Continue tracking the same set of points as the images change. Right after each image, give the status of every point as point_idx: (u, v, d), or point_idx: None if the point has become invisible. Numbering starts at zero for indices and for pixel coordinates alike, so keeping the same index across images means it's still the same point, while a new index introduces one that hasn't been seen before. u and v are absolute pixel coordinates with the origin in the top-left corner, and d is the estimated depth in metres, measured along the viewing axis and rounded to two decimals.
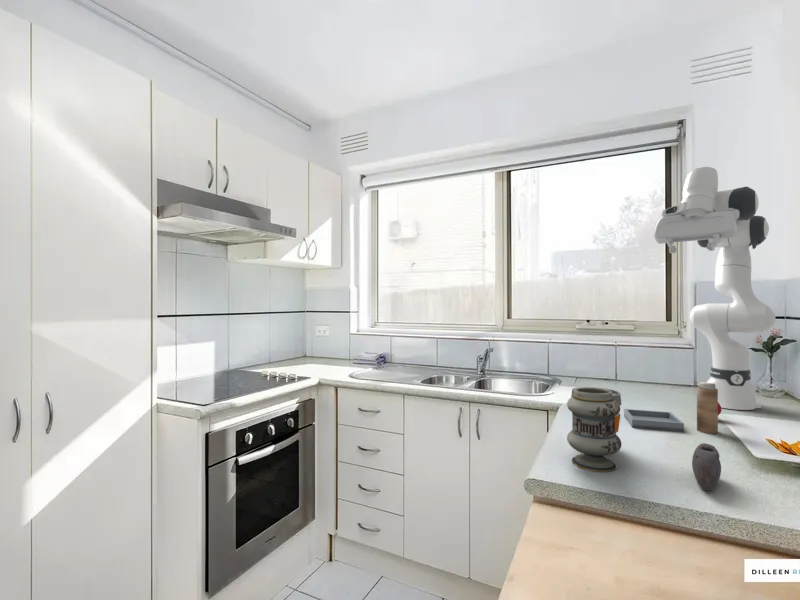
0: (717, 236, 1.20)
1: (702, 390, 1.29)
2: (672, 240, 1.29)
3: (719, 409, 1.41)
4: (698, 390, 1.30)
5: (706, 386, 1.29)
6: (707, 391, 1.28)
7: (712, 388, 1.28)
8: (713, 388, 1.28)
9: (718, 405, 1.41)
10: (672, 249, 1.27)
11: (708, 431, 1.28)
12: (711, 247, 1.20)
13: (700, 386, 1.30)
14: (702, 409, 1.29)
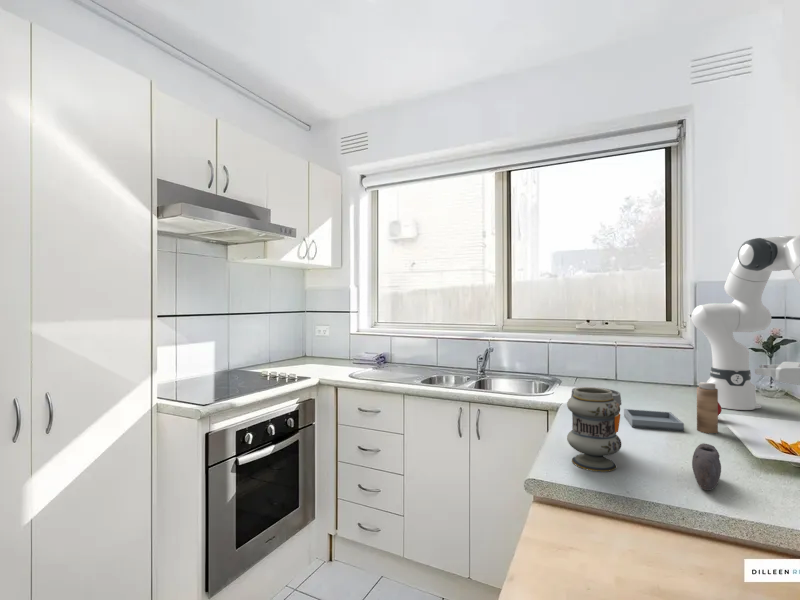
0: None
1: (702, 390, 1.29)
2: None
3: (719, 409, 1.41)
4: (698, 390, 1.30)
5: (706, 386, 1.29)
6: (707, 391, 1.28)
7: (712, 388, 1.28)
8: (713, 388, 1.28)
9: (718, 405, 1.41)
10: None
11: (708, 431, 1.28)
12: None
13: (700, 386, 1.30)
14: (702, 409, 1.29)
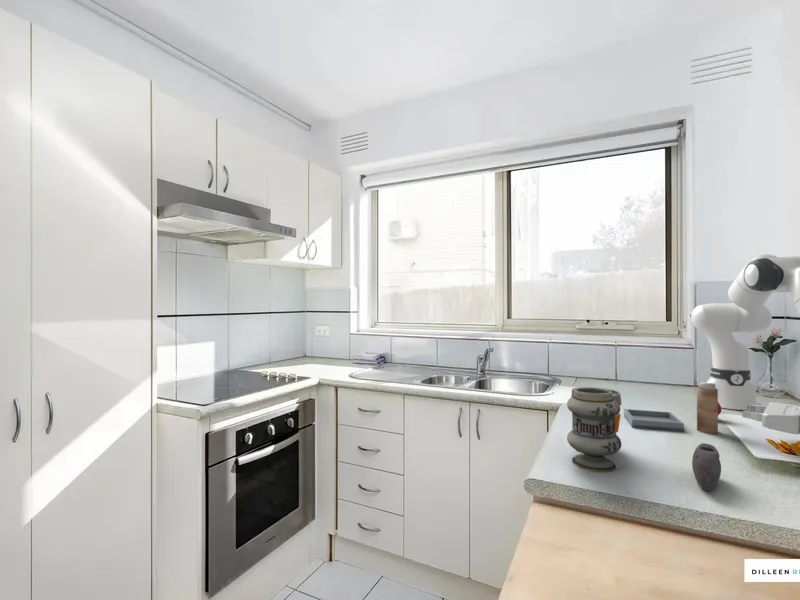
0: None
1: (702, 390, 1.29)
2: None
3: (719, 409, 1.41)
4: (698, 390, 1.30)
5: (706, 386, 1.29)
6: (707, 391, 1.28)
7: (712, 388, 1.28)
8: (713, 388, 1.28)
9: (718, 405, 1.41)
10: None
11: (708, 431, 1.28)
12: None
13: (700, 386, 1.30)
14: (702, 409, 1.29)
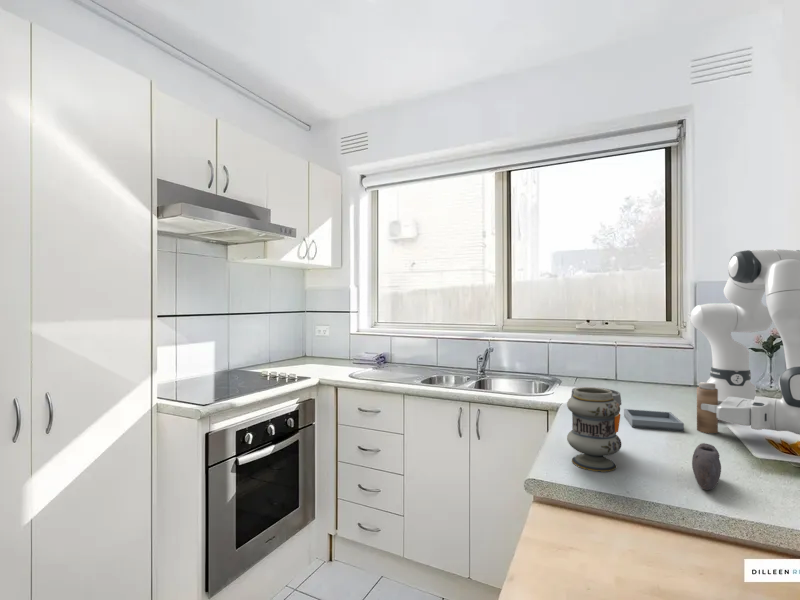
0: None
1: (702, 390, 1.29)
2: None
3: None
4: (698, 390, 1.30)
5: (706, 386, 1.29)
6: (707, 391, 1.28)
7: (712, 388, 1.28)
8: (713, 388, 1.28)
9: None
10: None
11: (708, 431, 1.28)
12: None
13: (700, 386, 1.30)
14: None
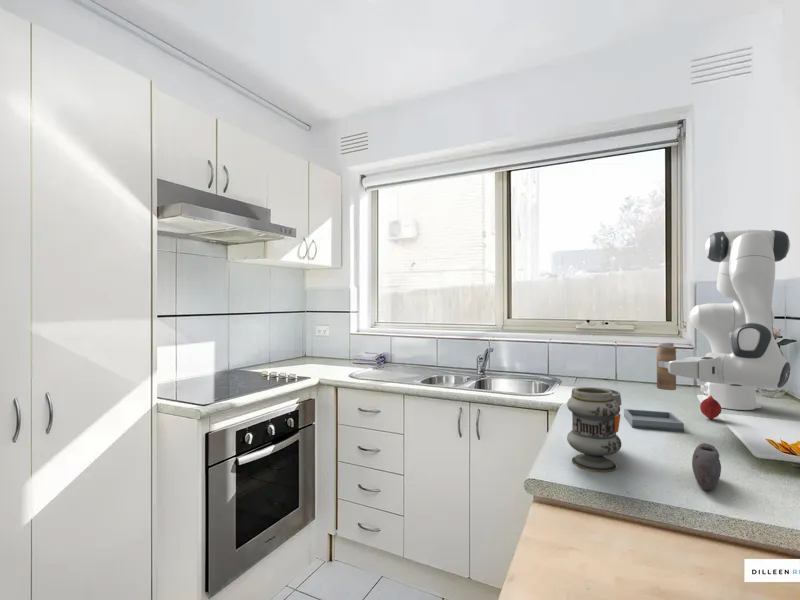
0: None
1: (660, 349, 1.35)
2: None
3: (719, 409, 1.41)
4: (657, 349, 1.36)
5: (664, 345, 1.34)
6: (664, 349, 1.34)
7: (670, 346, 1.34)
8: (671, 346, 1.34)
9: (718, 405, 1.41)
10: (660, 366, 1.34)
11: (665, 387, 1.33)
12: None
13: (659, 345, 1.36)
14: None
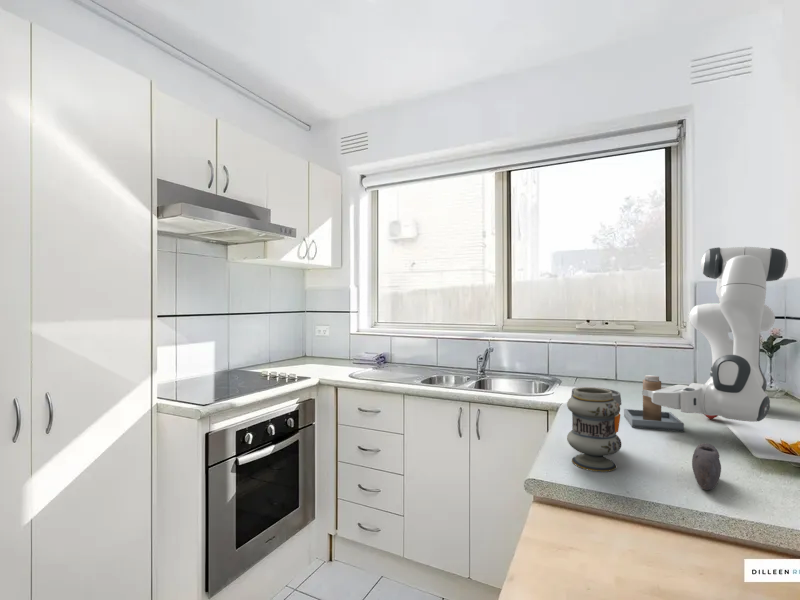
0: None
1: (646, 382, 1.37)
2: None
3: None
4: (643, 382, 1.39)
5: (649, 378, 1.37)
6: (650, 383, 1.36)
7: (655, 380, 1.36)
8: (656, 380, 1.36)
9: None
10: None
11: None
12: None
13: (645, 378, 1.39)
14: (646, 400, 1.37)
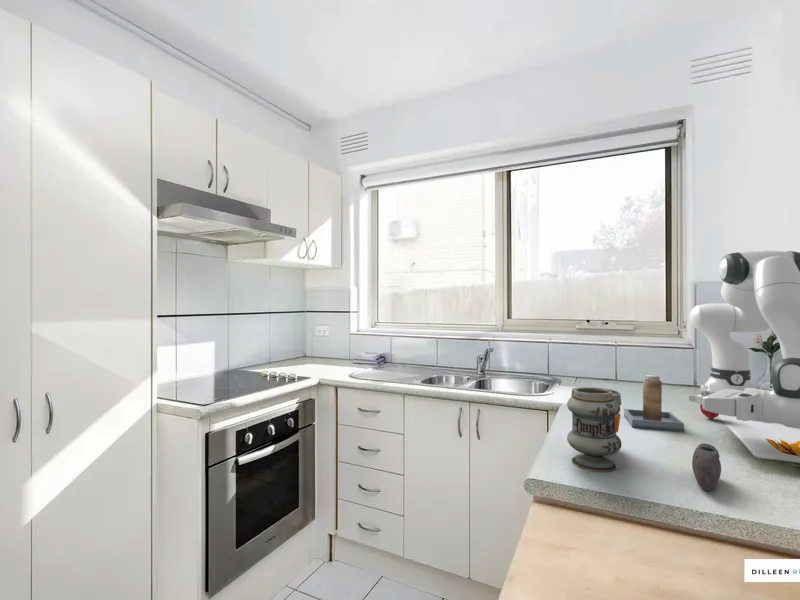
0: None
1: (646, 382, 1.37)
2: None
3: None
4: (643, 382, 1.39)
5: (649, 378, 1.37)
6: (650, 383, 1.36)
7: (655, 380, 1.36)
8: (656, 380, 1.36)
9: None
10: None
11: None
12: None
13: (645, 378, 1.39)
14: (646, 399, 1.37)
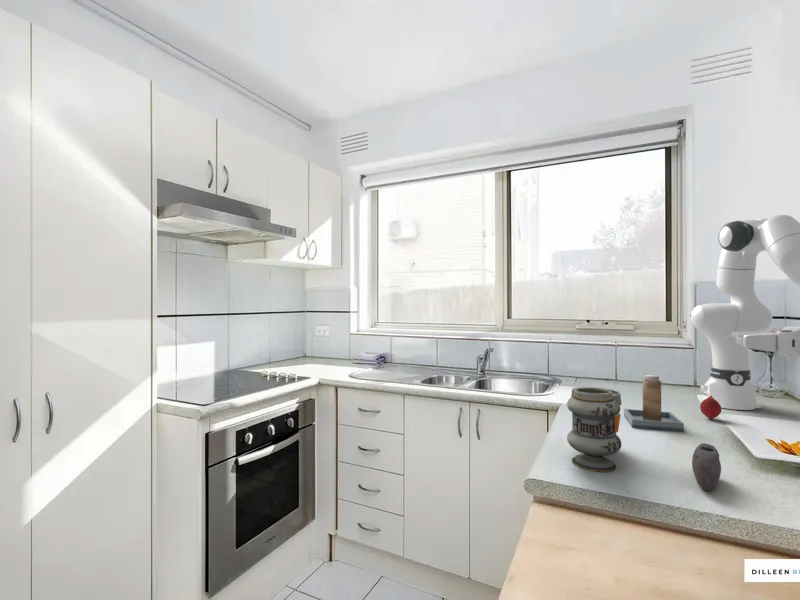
0: None
1: (645, 382, 1.37)
2: None
3: (719, 409, 1.41)
4: (643, 382, 1.39)
5: (649, 378, 1.37)
6: (650, 383, 1.36)
7: (655, 380, 1.36)
8: (656, 380, 1.36)
9: (718, 405, 1.41)
10: None
11: None
12: None
13: (645, 378, 1.39)
14: (646, 400, 1.37)
